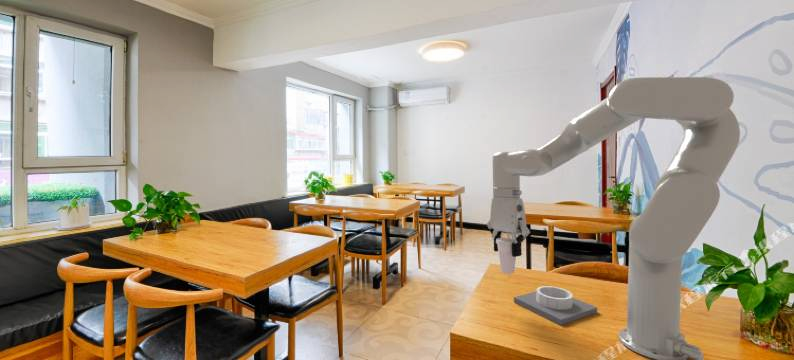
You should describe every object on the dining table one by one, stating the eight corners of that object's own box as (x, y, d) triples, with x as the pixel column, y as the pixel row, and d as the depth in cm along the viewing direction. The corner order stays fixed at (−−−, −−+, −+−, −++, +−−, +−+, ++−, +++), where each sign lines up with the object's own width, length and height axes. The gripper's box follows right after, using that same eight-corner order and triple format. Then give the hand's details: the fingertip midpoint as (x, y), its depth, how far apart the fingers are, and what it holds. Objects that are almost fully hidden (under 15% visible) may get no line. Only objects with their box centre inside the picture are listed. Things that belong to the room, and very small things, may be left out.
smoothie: (523, 273, 91) (523, 226, 91) (506, 276, 89) (505, 227, 88) (508, 267, 97) (507, 222, 97) (491, 270, 95) (491, 224, 94)
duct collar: (597, 312, 90) (597, 297, 90) (560, 325, 83) (561, 308, 83) (548, 292, 104) (548, 279, 104) (513, 301, 97) (514, 287, 97)
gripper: (540, 194, 86) (540, 258, 87) (494, 191, 102) (495, 245, 102) (520, 196, 83) (521, 262, 83) (476, 192, 98) (477, 248, 99)
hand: (507, 252), depth 93 cm, fingers closed on smoothie, 6 cm apart
